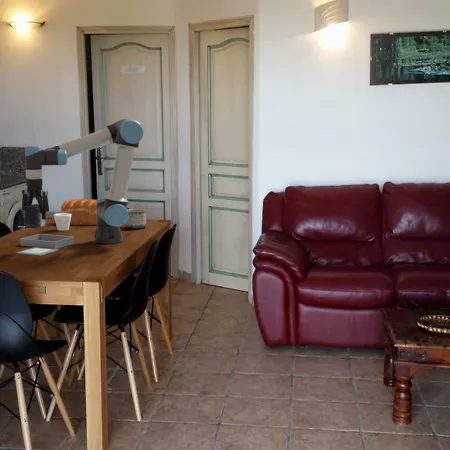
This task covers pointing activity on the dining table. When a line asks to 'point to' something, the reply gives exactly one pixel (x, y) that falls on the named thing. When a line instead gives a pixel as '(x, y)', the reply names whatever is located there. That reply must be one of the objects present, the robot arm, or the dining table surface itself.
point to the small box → (32, 216)
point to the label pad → (37, 251)
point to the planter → (136, 219)
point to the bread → (81, 211)
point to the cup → (62, 221)
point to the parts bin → (47, 241)
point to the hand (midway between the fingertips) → (36, 225)
